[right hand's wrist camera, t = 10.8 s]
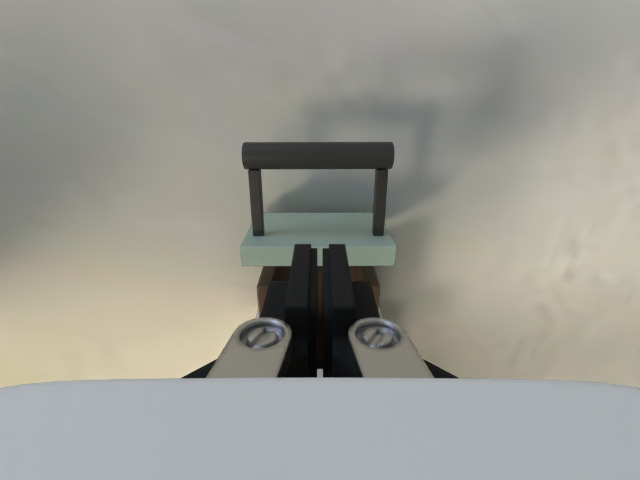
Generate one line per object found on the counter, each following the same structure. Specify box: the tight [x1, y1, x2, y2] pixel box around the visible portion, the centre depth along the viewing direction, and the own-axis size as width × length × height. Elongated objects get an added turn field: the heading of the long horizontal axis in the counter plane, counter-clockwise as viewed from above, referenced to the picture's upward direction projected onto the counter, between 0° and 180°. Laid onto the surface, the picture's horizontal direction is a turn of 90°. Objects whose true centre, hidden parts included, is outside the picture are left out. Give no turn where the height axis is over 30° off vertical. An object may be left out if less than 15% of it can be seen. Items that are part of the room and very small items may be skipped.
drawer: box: [240, 142, 397, 369], centre depth 24 cm, size 18×8×6 cm, turn 0°
